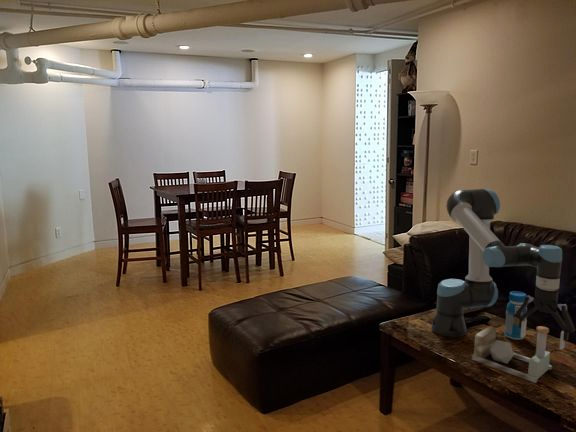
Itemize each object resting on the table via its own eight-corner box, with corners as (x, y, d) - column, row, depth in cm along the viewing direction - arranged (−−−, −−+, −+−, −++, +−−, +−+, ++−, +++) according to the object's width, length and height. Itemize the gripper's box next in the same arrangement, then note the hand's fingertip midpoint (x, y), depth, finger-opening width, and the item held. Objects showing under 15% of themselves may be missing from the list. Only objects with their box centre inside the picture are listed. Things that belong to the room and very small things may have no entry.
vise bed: (471, 359, 189) (473, 335, 187) (488, 347, 199) (490, 325, 197) (535, 383, 171) (538, 357, 169) (551, 369, 181) (553, 344, 179)
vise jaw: (526, 376, 175) (530, 331, 172) (538, 365, 183) (543, 322, 180) (537, 380, 172) (542, 334, 169) (549, 369, 180) (554, 325, 177)
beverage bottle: (500, 335, 211) (503, 292, 207) (509, 330, 216) (513, 289, 212) (518, 342, 204) (522, 298, 201) (528, 336, 209) (532, 294, 206)
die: (515, 361, 188) (505, 337, 192) (519, 360, 181) (508, 335, 184) (495, 367, 190) (485, 343, 194) (497, 366, 182) (487, 341, 186)
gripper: (508, 282, 178) (503, 334, 182) (582, 298, 160) (575, 356, 163) (516, 278, 183) (511, 329, 187) (589, 293, 165) (582, 350, 168)
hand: (541, 342), depth 175 cm, fingers open, 13 cm apart
